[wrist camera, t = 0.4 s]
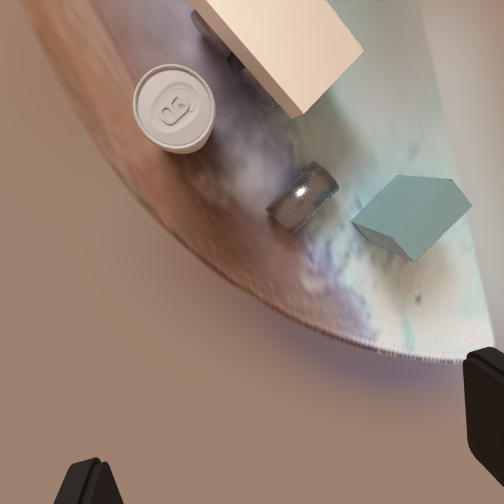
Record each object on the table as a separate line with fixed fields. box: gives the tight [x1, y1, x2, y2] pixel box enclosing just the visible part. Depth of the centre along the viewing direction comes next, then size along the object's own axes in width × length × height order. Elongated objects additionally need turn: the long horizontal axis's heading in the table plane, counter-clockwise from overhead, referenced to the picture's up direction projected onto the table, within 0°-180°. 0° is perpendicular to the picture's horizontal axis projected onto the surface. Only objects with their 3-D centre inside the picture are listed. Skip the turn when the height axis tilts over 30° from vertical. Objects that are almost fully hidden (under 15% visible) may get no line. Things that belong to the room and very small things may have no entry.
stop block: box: [351, 175, 472, 262], centre depth 33 cm, size 6×3×8 cm, turn 135°
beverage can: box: [133, 64, 216, 154], centre depth 26 cm, size 5×5×12 cm
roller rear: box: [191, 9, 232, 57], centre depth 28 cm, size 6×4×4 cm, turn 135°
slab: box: [187, 0, 364, 119], centre depth 26 cm, size 6×12×4 cm, turn 45°
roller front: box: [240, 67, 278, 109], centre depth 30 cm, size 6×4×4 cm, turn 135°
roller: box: [266, 162, 339, 236], centre depth 33 cm, size 6×4×4 cm, turn 135°
